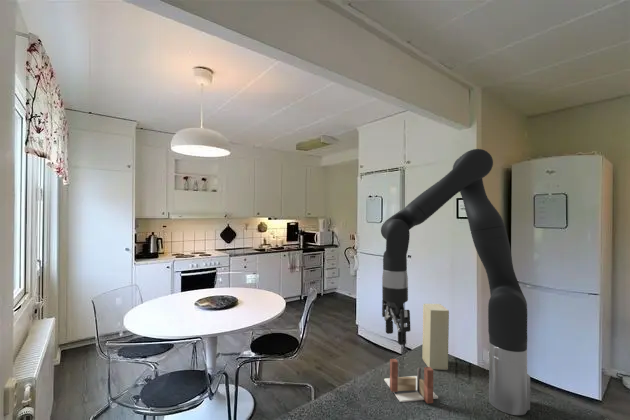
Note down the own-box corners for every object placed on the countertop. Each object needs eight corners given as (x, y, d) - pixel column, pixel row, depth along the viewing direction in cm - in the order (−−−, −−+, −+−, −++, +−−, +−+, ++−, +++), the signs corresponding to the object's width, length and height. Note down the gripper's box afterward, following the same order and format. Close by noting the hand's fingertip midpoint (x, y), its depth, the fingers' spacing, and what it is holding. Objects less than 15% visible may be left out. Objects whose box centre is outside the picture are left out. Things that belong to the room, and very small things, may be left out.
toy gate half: (413, 387, 93) (414, 358, 93) (416, 390, 91) (416, 361, 92) (389, 388, 93) (390, 359, 93) (391, 391, 91) (392, 361, 91)
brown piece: (420, 390, 93) (420, 358, 93) (433, 404, 86) (433, 370, 86) (415, 391, 93) (415, 359, 93) (427, 405, 86) (427, 370, 86)
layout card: (417, 376, 101) (417, 375, 101) (438, 398, 89) (438, 396, 89) (384, 379, 99) (384, 378, 99) (400, 402, 87) (400, 400, 87)
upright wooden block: (450, 370, 106) (451, 310, 106) (429, 369, 106) (430, 309, 106) (441, 359, 114) (442, 303, 114) (422, 358, 114) (422, 303, 114)
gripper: (418, 289, 85) (419, 347, 85) (396, 279, 99) (396, 329, 99) (393, 290, 84) (394, 349, 83) (374, 280, 98) (374, 330, 97)
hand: (395, 338), depth 91 cm, fingers open, 8 cm apart
